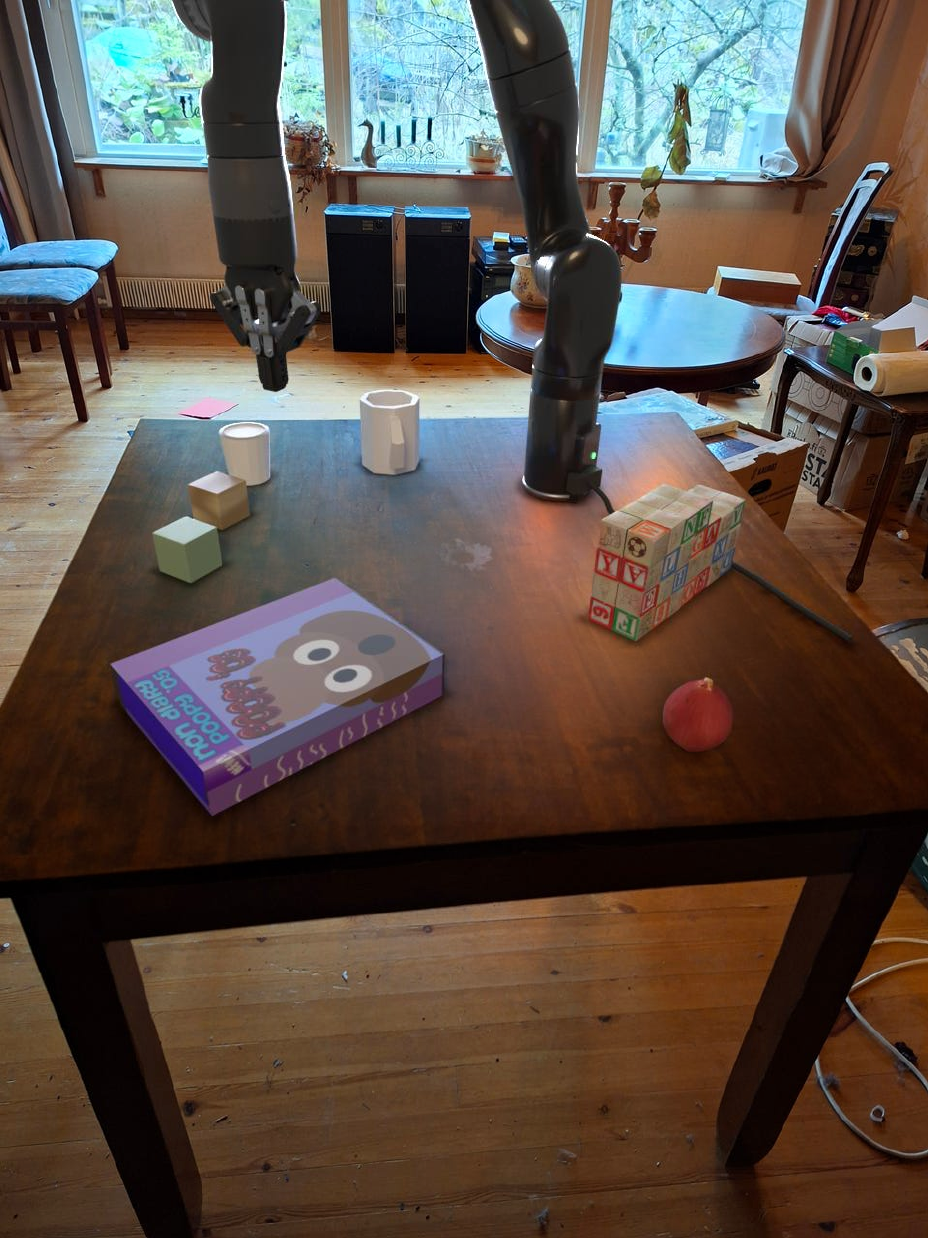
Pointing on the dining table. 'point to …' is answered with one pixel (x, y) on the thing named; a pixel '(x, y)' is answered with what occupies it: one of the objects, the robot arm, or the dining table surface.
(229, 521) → the birch block
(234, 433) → the white cup
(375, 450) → the mug
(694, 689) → the onion
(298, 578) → the dining table surface
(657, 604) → the stack of blocks
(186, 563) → the sage block
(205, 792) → the cereal box
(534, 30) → the robot arm
